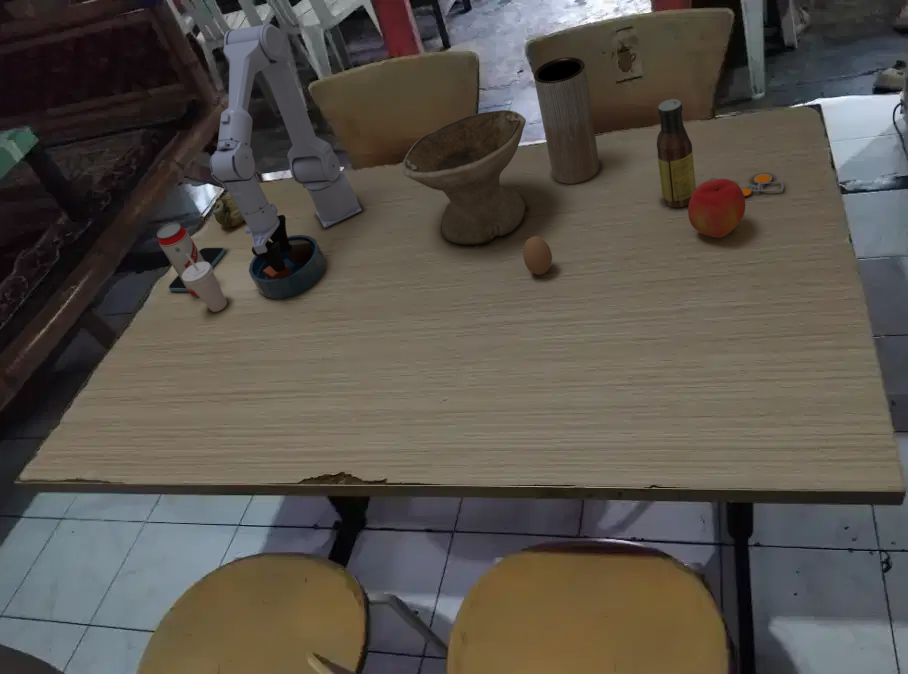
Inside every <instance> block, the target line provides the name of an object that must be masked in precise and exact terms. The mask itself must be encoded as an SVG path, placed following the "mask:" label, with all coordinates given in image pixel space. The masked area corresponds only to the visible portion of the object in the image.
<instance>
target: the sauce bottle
mask: <svg viewBox="0 0 908 674" xmlns="http://www.w3.org/2000/svg"><path fill="white" fill-rule="evenodd" d="M657 111H658V115H659V118H660V119H659V120H660V131H659V133H658V135H657V138H656V149H657V163H658V172H659V178H660V186H661V196H662V198H663V201H664V204H665V205H666V206H668V207H672V208H682V207H687V206H689V202H690V199H691V196H692V194H693V193H694V191H695V190H696V188H697V187H696V186H697V184H696V173H695V162H694V154H693V143H692V141H691V139H690V137H689V135H688V132H687V130H686V128H685V125H684V121H683V113H682V112H683V103H682V101H680V100H679V99H676V98H670V99H667V100H664V101H662V102H660V103H659V104H658V106H657Z"/></svg>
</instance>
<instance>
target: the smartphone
mask: <svg viewBox="0 0 908 674" xmlns="http://www.w3.org/2000/svg"><path fill="white" fill-rule="evenodd" d="M198 251H199V252H200V254H201V256H202V258H203V259H204V261H205V262H208V263H209V264H210V265H211V266H212V268H213V269H214V267H215V265H216V264H217V263H218V262H219V261H220V259H221V258H222V257H223V256H224V255H225V254H226V249H225V248H224V247H203V248H201V249H198ZM167 288H168V289H169V291H170V292H189V291H188V290H187V288H186V286H185V285H184V283H183V282H182V280H181V278H180V277H179V275H178V274H177V275H176V277H175V278H174V279H173V280H172V281H171V283H169V285H168V287H167Z"/></svg>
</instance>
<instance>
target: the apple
mask: <svg viewBox="0 0 908 674" xmlns="http://www.w3.org/2000/svg"><path fill="white" fill-rule="evenodd" d="M715 179H716V180H713V179H711V180H708V181H704V182H702V183H700V184H699V185H698V186H697V187H696V190H695V191H694V193H693V194H692V196H691V199H690V202H689V205H687V206H688V207H687V215H688V220H689V223H690V225H691V226H692V227H693V229H694V230H696V231H697V232H699V233H700V234H702V235H705V236H708V237H711V238H723V237H725V236H727V235H728V234H730V233H731V232H732V231H733V230H734V229H735V228H737V226H738V225H739V224H740V223H741V221H742V220H743V218H744V216H745V212H746V199H745V196H744V195H743V192H742V190H741V189H742V188H741V187H740V186H739V184H737V182H735V181H733V180H731V179H728V178H715Z"/></svg>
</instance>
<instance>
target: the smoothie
mask: <svg viewBox="0 0 908 674" xmlns="http://www.w3.org/2000/svg"><path fill="white" fill-rule="evenodd" d="M186 256H187V257H188V259H189V260H190V262H191V263H192V265H191V266H190V267H188V268H187V269H186V270H185V271H184V272H183V274H182V279H183V281H184V283H185V284H187V285H189V286H190V287H191V288H192V290H193V291H194V292H195V293H196V294H197V295H198V296H197V295H196V296H197V297H199V299H200V300H201V301H202V302H203V303H204V304H205V305H206V307H207V308H208V309H209V310H210V311H211V312H214V313H216V312H220V311H221V310H223V309H224V308H226V306H227V304H228V301H227V299H226V297H225V295H224V292H223V290H222V289H221V286H220V283H219V282H218V279H217V278H216V275H215V274H214V271H213V269H214V267H213V268H212V266H211V265H210V264H209V263H208V262H198V263H194V261H193V260H192V258H191V257H190V255H189V254H188V253H187V254H186Z"/></svg>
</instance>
